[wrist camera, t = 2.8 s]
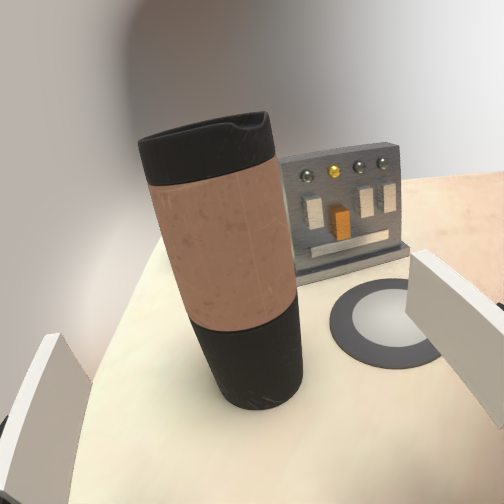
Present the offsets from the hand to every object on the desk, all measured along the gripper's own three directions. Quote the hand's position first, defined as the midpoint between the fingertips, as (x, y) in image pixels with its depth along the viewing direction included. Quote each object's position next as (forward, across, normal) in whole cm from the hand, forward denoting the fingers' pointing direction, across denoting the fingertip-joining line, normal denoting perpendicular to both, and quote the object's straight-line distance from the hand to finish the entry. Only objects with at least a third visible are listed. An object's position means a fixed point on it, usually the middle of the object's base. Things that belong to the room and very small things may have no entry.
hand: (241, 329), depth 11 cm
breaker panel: (+24, +14, -14) cm, 31 cm away
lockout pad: (+12, +14, -14) cm, 23 cm away
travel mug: (+10, 0, -14) cm, 17 cm away
